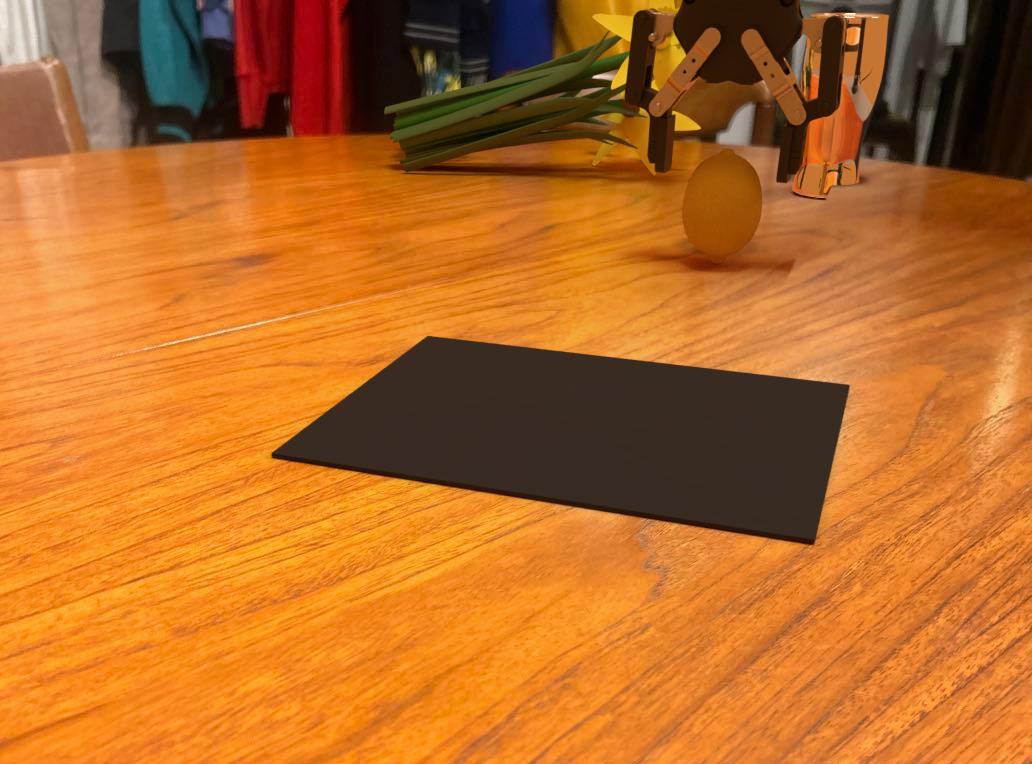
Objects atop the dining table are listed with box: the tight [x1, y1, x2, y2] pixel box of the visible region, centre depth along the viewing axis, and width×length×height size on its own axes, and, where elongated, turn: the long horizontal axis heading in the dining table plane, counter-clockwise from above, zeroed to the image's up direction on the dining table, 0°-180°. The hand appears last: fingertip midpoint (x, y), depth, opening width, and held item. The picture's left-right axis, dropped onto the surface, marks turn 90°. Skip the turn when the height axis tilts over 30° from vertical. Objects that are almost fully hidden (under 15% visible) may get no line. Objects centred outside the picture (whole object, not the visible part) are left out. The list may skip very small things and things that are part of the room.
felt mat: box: [271, 335, 851, 545], centre depth 53 cm, size 24×18×1 cm
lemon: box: [681, 147, 763, 265], centre depth 77 cm, size 6×6×8 cm
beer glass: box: [791, 12, 890, 198], centre depth 98 cm, size 7×7×15 cm
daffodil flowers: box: [384, 0, 702, 176], centre depth 108 cm, size 17×15×35 cm
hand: (722, 176), depth 77 cm, fingers open, 8 cm apart
